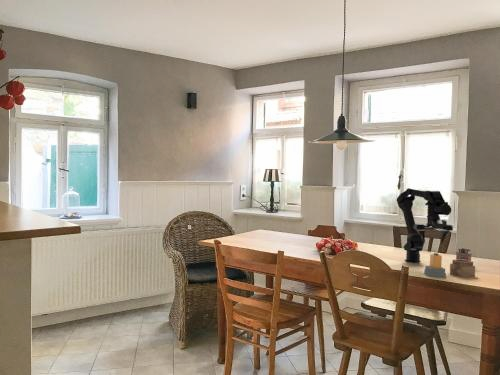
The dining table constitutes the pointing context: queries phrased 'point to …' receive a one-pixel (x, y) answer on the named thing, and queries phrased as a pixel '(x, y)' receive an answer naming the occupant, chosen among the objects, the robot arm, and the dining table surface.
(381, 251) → the dining table surface
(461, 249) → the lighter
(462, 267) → the upper dock
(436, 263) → the plug
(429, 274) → the lower dock
